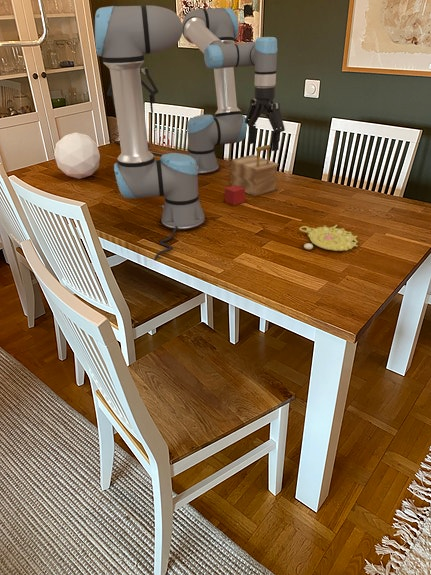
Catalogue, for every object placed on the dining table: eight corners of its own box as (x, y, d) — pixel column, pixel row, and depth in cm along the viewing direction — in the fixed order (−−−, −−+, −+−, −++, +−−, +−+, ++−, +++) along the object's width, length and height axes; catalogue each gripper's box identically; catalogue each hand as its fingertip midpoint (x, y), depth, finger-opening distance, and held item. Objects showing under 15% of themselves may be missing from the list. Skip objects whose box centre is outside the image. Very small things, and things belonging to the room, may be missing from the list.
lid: (278, 166, 174) (279, 145, 170) (256, 171, 169) (256, 150, 165) (252, 156, 186) (253, 137, 181) (231, 162, 181) (231, 141, 176)
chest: (275, 190, 180) (276, 165, 175) (254, 196, 175) (254, 171, 170) (252, 180, 191) (252, 157, 186) (231, 185, 186) (231, 162, 181)
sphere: (87, 194, 201) (71, 168, 182) (55, 173, 206) (37, 145, 187) (114, 165, 206) (102, 136, 187) (82, 145, 210) (67, 115, 192)
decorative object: (343, 255, 128) (285, 234, 139) (342, 262, 130) (284, 241, 140) (372, 230, 142) (317, 213, 152) (371, 237, 143) (316, 219, 153)
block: (244, 201, 171) (244, 188, 168) (234, 205, 168) (234, 191, 165) (235, 198, 174) (235, 184, 171) (225, 201, 171) (224, 187, 169)
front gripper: (160, 52, 174) (165, 109, 185) (95, 55, 171) (104, 113, 182) (161, 54, 167) (166, 113, 179) (94, 56, 165) (103, 116, 176)
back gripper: (297, 89, 151) (293, 151, 162) (251, 82, 169) (250, 139, 180) (280, 91, 148) (277, 155, 159) (235, 84, 165) (236, 142, 177)
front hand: (135, 113), depth 181 cm, fingers open, 13 cm apart
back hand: (263, 146), depth 169 cm, fingers open, 13 cm apart
